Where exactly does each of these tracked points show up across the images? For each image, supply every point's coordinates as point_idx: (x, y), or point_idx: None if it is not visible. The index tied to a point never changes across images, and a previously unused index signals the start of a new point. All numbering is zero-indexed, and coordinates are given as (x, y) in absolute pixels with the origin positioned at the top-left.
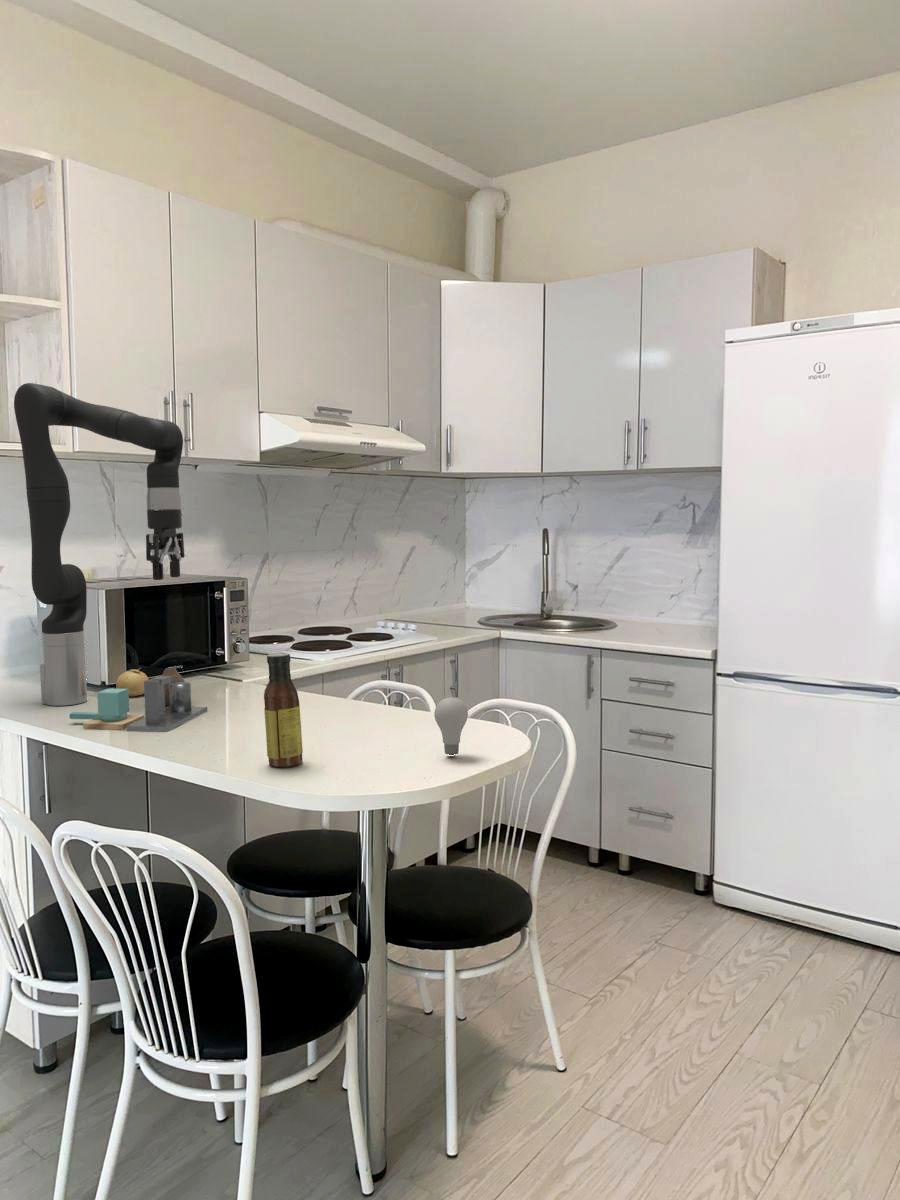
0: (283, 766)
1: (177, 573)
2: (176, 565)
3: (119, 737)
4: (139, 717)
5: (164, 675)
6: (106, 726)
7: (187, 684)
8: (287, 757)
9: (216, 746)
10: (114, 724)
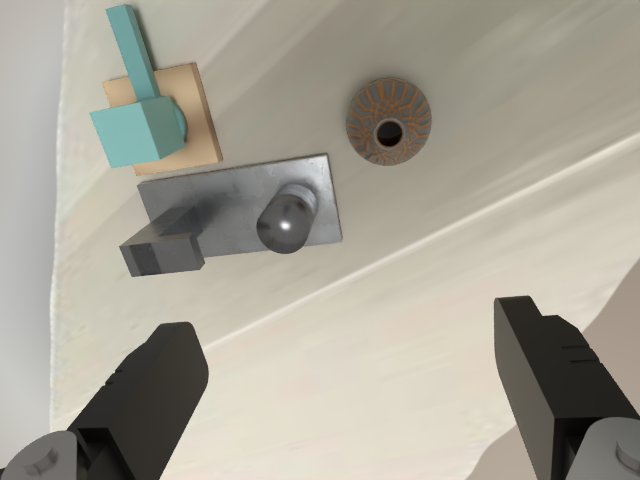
0: None
1: (503, 377)
2: (533, 441)
3: (101, 201)
4: (200, 165)
5: (364, 125)
6: None
7: (280, 252)
8: None
9: None
10: None
